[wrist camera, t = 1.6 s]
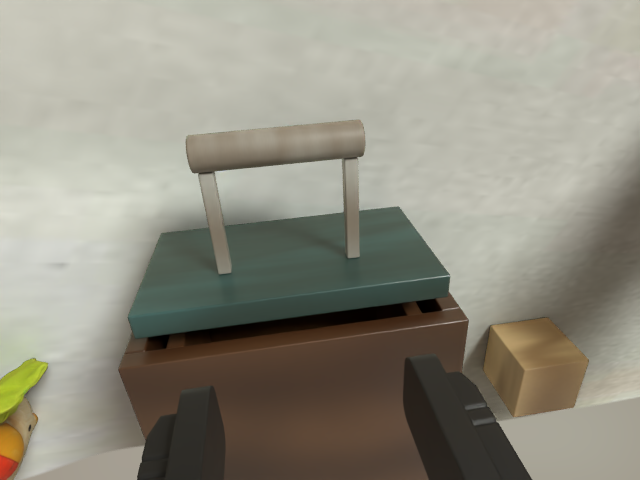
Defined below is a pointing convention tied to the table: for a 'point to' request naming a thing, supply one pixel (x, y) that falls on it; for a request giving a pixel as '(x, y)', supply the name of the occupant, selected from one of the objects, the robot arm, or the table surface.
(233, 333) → the drawer
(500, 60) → the table surface
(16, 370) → the bird rattle
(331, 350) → the cabinet
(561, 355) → the beech block
